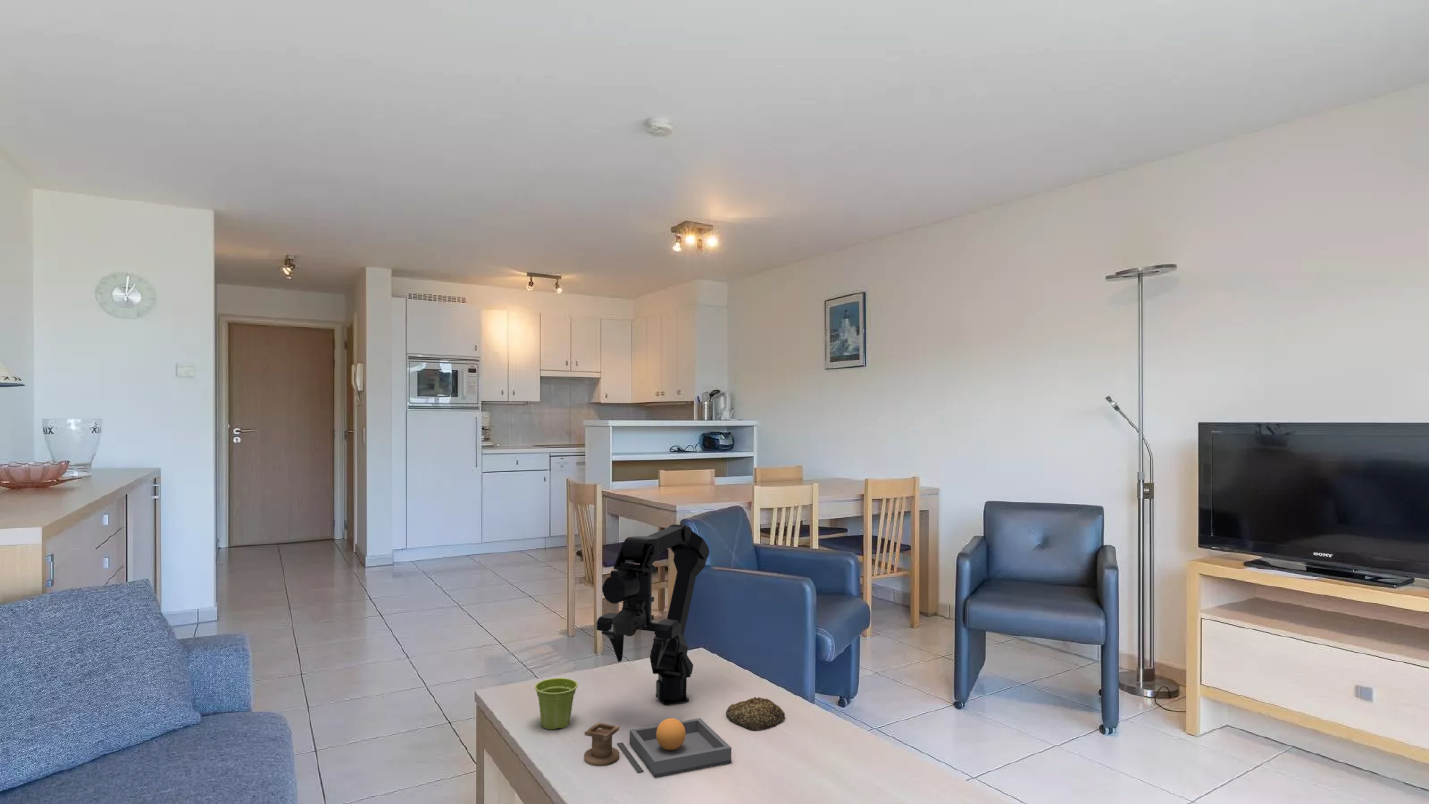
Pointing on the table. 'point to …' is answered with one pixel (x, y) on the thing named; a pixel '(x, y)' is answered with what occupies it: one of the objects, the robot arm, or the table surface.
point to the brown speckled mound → (755, 713)
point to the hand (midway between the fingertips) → (638, 664)
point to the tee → (601, 745)
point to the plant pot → (555, 701)
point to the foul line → (630, 757)
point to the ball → (670, 734)
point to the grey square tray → (681, 749)
